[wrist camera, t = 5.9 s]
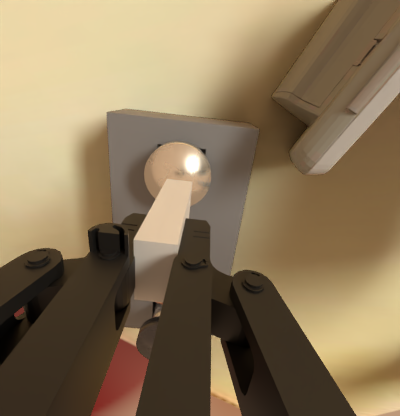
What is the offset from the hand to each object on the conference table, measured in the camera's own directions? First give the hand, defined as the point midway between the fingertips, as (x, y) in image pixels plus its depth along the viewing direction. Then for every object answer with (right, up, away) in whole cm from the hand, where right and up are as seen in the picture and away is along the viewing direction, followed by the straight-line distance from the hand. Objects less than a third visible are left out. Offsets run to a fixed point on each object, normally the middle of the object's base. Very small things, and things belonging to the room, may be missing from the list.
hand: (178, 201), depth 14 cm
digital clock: (+14, +11, +8) cm, 19 cm away
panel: (-1, -2, +14) cm, 14 cm away
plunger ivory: (0, +4, +8) cm, 9 cm away
